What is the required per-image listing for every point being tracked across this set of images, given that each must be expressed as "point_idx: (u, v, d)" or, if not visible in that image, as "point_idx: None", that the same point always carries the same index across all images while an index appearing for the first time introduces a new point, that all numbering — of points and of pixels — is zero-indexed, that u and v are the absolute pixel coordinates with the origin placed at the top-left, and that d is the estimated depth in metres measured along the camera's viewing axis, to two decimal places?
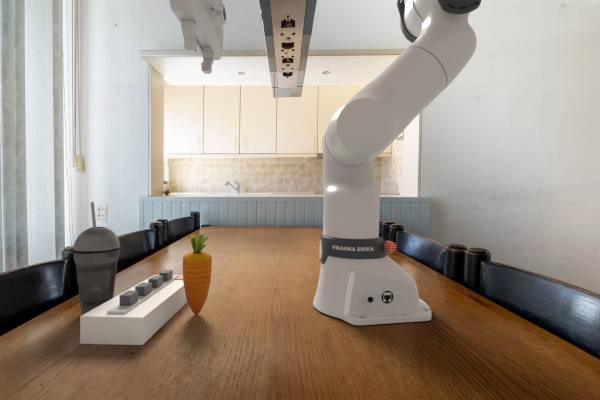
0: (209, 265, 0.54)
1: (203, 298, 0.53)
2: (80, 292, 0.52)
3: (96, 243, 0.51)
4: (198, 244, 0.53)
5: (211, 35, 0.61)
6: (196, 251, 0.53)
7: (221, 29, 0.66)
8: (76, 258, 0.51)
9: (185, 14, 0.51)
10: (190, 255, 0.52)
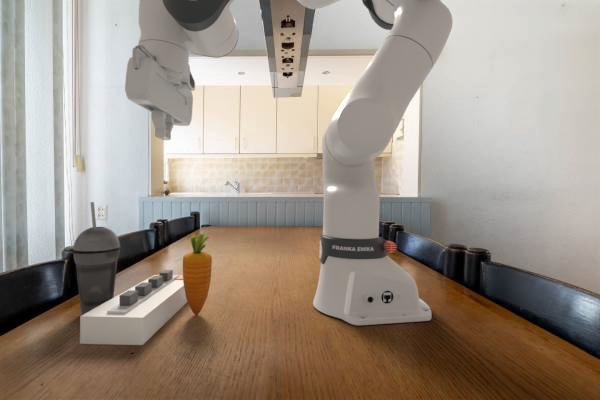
0: (209, 265, 0.54)
1: (203, 298, 0.53)
2: (80, 292, 0.52)
3: (96, 243, 0.51)
4: (198, 244, 0.53)
5: (176, 108, 0.60)
6: (196, 251, 0.53)
7: (189, 96, 0.65)
8: (76, 258, 0.51)
9: (143, 102, 0.50)
10: (190, 255, 0.52)
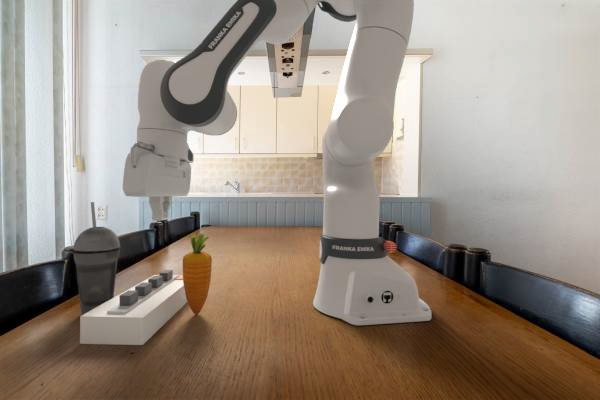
0: (209, 265, 0.54)
1: (203, 298, 0.53)
2: (80, 292, 0.52)
3: (96, 243, 0.51)
4: (198, 244, 0.53)
5: (174, 188, 0.60)
6: (196, 251, 0.53)
7: (188, 169, 0.65)
8: (76, 258, 0.51)
9: None
10: (190, 255, 0.52)
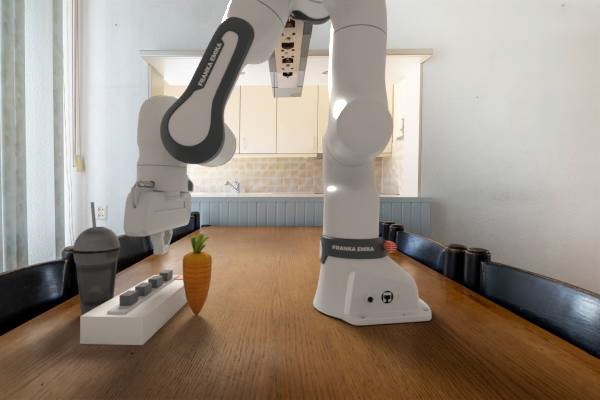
0: (209, 265, 0.54)
1: (203, 298, 0.53)
2: (80, 292, 0.52)
3: (96, 243, 0.51)
4: (198, 244, 0.53)
5: (175, 220, 0.60)
6: (196, 251, 0.53)
7: (188, 198, 0.66)
8: (76, 258, 0.51)
9: None
10: (190, 255, 0.52)
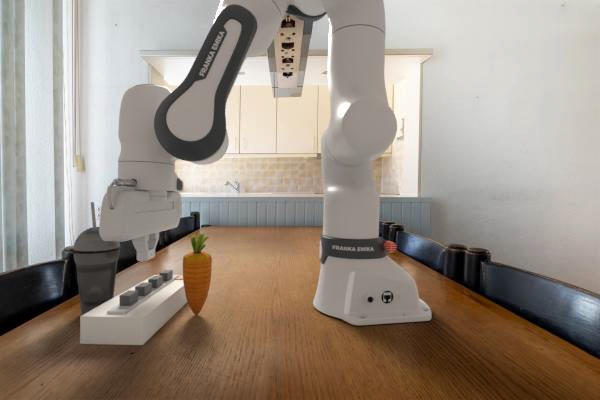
0: (209, 265, 0.54)
1: (203, 298, 0.53)
2: (80, 292, 0.52)
3: (96, 243, 0.51)
4: (198, 244, 0.53)
5: (161, 222, 0.54)
6: (196, 251, 0.53)
7: (177, 198, 0.60)
8: (76, 258, 0.51)
9: None
10: (190, 255, 0.52)
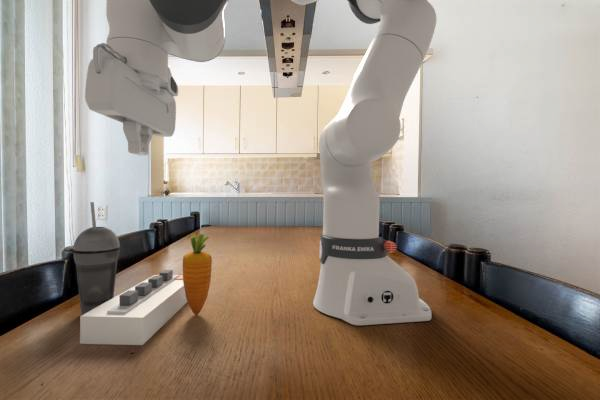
0: (209, 265, 0.54)
1: (203, 298, 0.53)
2: (80, 292, 0.52)
3: (96, 243, 0.51)
4: (198, 244, 0.53)
5: (154, 118, 0.51)
6: (196, 251, 0.53)
7: (172, 103, 0.56)
8: (76, 258, 0.51)
9: (108, 112, 0.41)
10: (190, 255, 0.52)
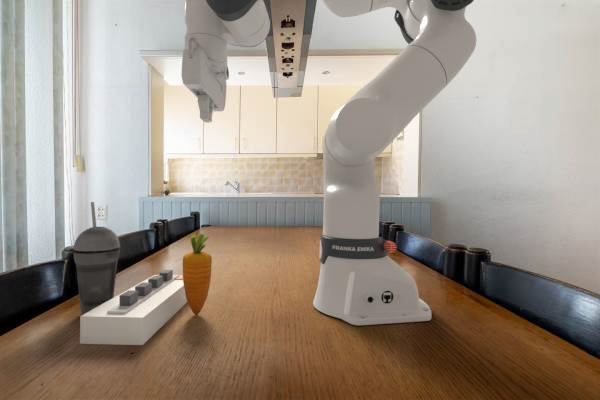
0: (209, 265, 0.54)
1: (203, 298, 0.53)
2: (80, 292, 0.52)
3: (96, 243, 0.51)
4: (198, 244, 0.53)
5: (216, 94, 0.67)
6: (196, 251, 0.53)
7: (224, 84, 0.73)
8: (76, 258, 0.51)
9: (195, 86, 0.58)
10: (190, 255, 0.52)
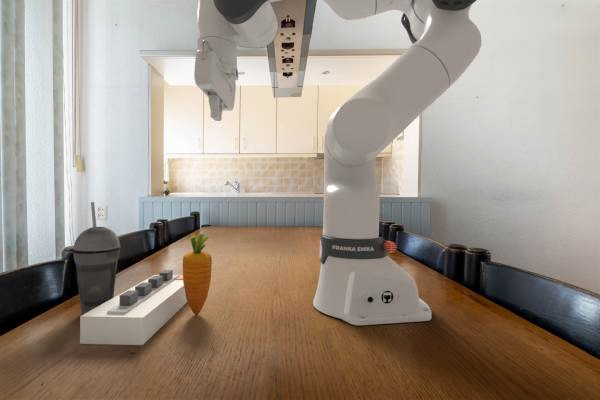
0: (209, 265, 0.54)
1: (203, 298, 0.53)
2: (80, 292, 0.52)
3: (96, 243, 0.51)
4: (198, 244, 0.53)
5: (226, 94, 0.71)
6: (196, 251, 0.53)
7: (234, 85, 0.77)
8: (76, 258, 0.51)
9: (207, 86, 0.61)
10: (190, 255, 0.52)
